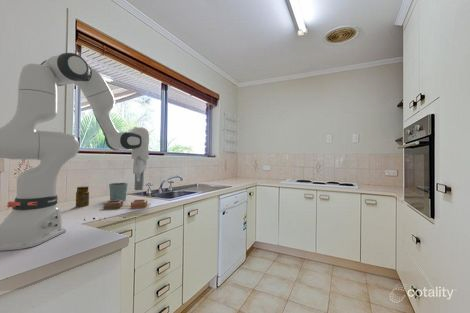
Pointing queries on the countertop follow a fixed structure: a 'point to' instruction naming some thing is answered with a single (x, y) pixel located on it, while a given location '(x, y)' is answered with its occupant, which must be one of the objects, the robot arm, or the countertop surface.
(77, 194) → the condiment
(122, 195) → the drinking glass
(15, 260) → the countertop surface
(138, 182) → the peg
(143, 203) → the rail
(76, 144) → the robot arm
